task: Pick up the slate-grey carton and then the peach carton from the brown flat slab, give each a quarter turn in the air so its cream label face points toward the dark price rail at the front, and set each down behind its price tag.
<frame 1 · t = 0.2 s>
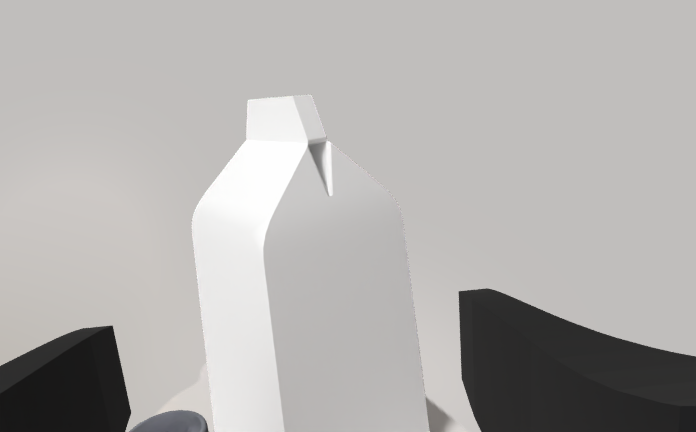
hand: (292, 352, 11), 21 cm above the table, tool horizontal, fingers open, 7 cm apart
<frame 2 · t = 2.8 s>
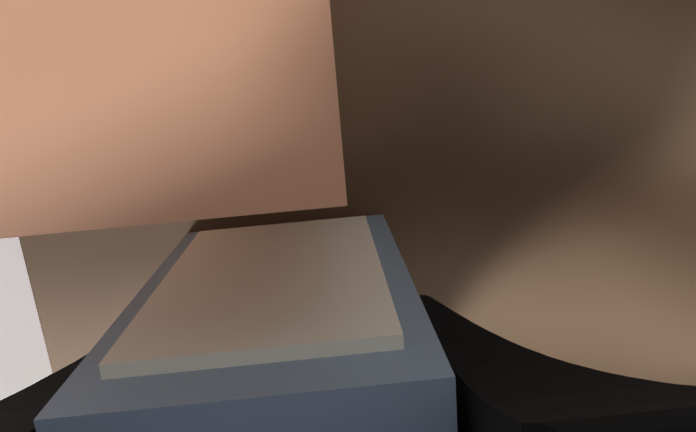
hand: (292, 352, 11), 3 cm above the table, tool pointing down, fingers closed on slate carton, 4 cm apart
peach carton: (215, 33, 11), point 1 cm above the table, touching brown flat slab
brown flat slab: (507, 201, 14), on the table
slate carton: (296, 313, 13), point 1 cm above the table, touching gripper, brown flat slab
when the fingers open (4 cm above the table, at t = 12.7 s): slate carton stays where it is, resting on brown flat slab.
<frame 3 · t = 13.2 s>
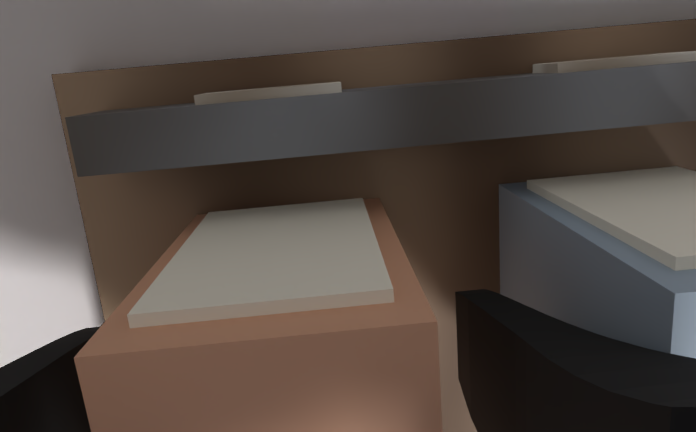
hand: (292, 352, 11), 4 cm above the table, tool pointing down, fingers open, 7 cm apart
peach carton: (298, 290, 14), point 1 cm above the table, touching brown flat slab
slate carton: (585, 260, 14), point 1 cm above the table, touching gripper, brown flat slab
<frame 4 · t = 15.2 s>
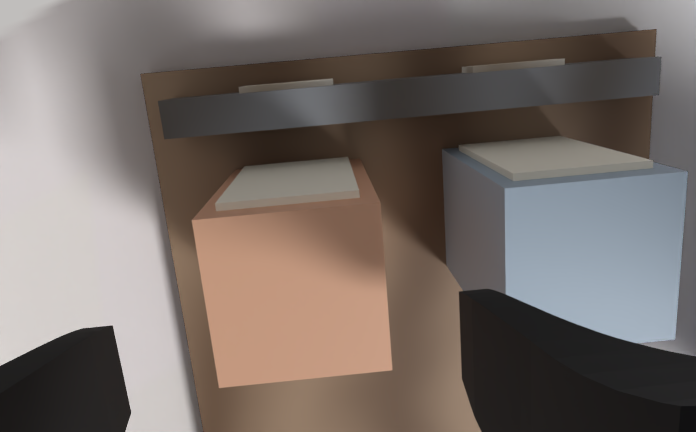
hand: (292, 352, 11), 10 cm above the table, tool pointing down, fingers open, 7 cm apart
peach carton: (304, 223, 20), point 1 cm above the table, touching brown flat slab
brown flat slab: (414, 338, 23), on the table
slate carton: (503, 203, 21), point 1 cm above the table, touching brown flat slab
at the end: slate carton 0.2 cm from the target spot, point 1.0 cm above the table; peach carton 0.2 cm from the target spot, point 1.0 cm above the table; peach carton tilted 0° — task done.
